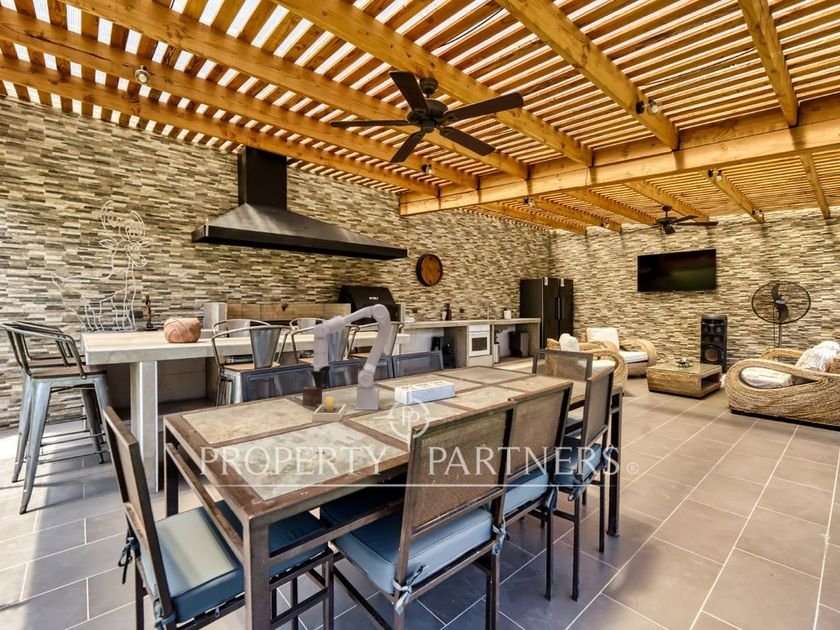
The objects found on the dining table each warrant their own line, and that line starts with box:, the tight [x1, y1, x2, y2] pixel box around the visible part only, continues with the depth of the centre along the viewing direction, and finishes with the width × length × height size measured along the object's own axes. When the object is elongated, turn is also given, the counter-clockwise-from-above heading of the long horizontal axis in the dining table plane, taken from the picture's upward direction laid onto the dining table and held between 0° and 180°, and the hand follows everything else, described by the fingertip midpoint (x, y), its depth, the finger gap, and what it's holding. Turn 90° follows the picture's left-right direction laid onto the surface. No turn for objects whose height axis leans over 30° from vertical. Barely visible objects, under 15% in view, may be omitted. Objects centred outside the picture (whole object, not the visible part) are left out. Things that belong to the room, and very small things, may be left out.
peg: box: [325, 396, 335, 412], centre depth 158 cm, size 3×3×7 cm
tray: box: [312, 403, 347, 423], centre depth 158 cm, size 10×14×3 cm
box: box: [302, 385, 323, 407], centre depth 177 cm, size 6×6×7 cm
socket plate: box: [318, 407, 342, 413], centre depth 158 cm, size 8×8×2 cm
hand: (321, 385), depth 167 cm, fingers open, 7 cm apart
